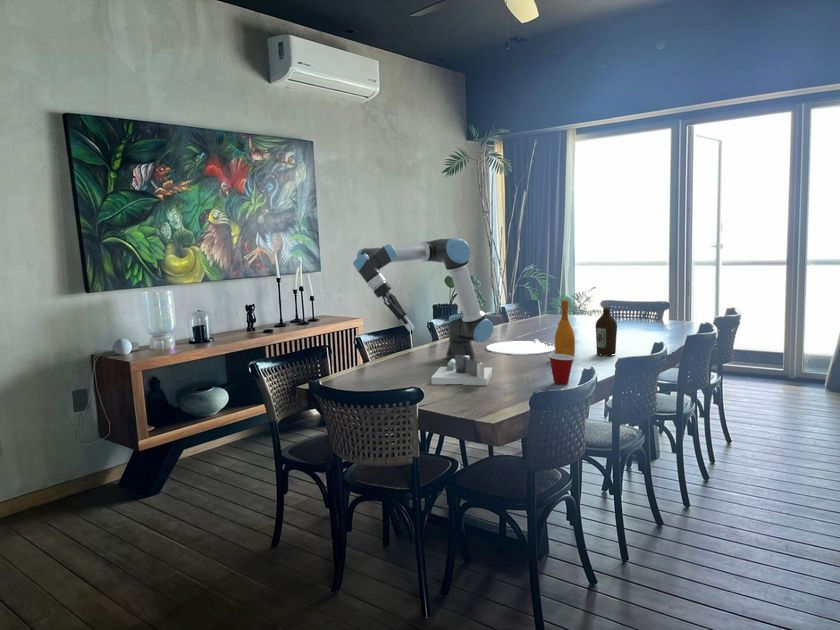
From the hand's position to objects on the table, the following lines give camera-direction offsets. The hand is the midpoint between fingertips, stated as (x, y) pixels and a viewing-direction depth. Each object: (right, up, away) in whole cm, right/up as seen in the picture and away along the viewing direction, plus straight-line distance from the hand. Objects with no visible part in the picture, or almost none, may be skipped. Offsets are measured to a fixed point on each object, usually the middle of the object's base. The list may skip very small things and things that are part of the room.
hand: (411, 329), depth 268 cm
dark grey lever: (+26, -20, -2) cm, 32 cm away
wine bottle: (+77, -16, +40) cm, 88 cm away
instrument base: (+23, -22, +6) cm, 32 cm away
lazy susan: (+61, -13, +75) cm, 97 cm away
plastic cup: (+64, -23, -8) cm, 68 cm away
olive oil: (+100, -15, +49) cm, 113 cm away
